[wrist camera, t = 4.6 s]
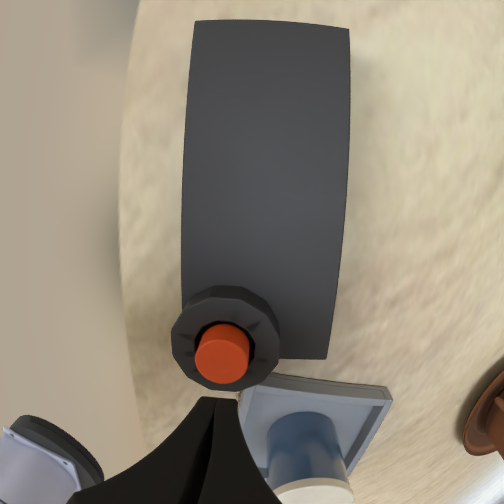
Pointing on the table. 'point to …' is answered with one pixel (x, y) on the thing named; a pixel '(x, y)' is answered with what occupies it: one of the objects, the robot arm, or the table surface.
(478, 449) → the cup and saucer
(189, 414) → the robot arm
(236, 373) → the button
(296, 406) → the tray
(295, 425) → the canister
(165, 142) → the table surface
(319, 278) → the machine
